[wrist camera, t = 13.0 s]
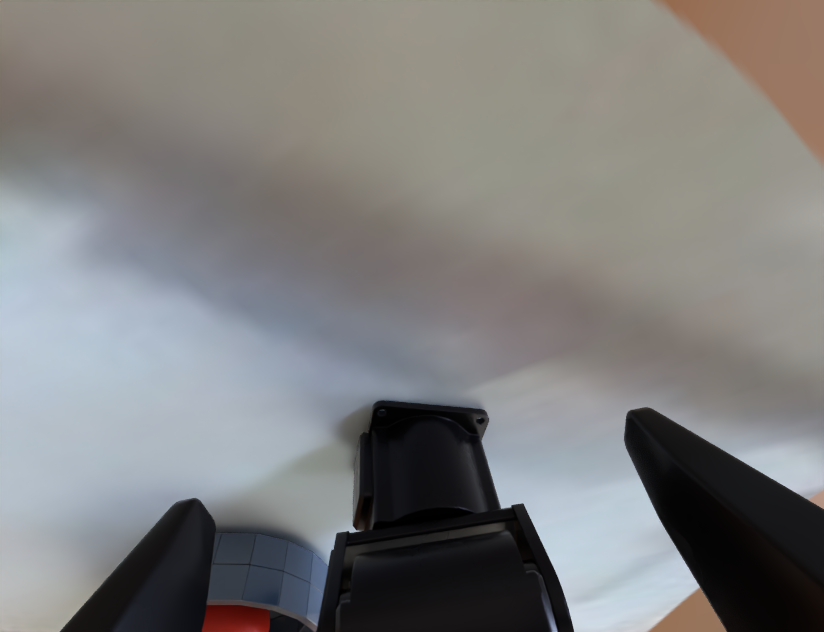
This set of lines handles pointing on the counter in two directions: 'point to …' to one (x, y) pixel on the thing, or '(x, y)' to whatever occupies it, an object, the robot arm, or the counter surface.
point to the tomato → (236, 619)
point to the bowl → (268, 579)
